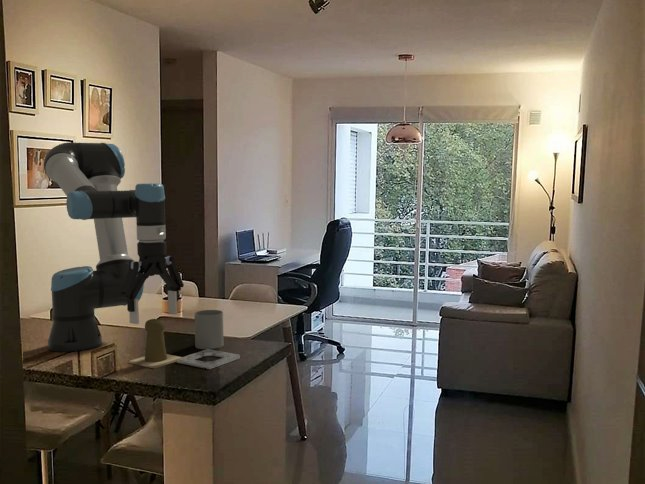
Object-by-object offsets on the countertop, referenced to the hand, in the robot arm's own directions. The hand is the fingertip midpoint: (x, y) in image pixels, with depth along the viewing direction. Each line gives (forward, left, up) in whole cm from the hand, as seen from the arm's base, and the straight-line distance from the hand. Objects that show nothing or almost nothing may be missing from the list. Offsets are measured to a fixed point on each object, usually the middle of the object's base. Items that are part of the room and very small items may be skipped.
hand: (154, 318), depth 171 cm
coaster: (0, 0, -12) cm, 12 cm away
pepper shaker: (0, 0, -11) cm, 11 cm away
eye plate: (+12, +8, -12) cm, 19 cm away
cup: (+1, +20, -12) cm, 23 cm away
